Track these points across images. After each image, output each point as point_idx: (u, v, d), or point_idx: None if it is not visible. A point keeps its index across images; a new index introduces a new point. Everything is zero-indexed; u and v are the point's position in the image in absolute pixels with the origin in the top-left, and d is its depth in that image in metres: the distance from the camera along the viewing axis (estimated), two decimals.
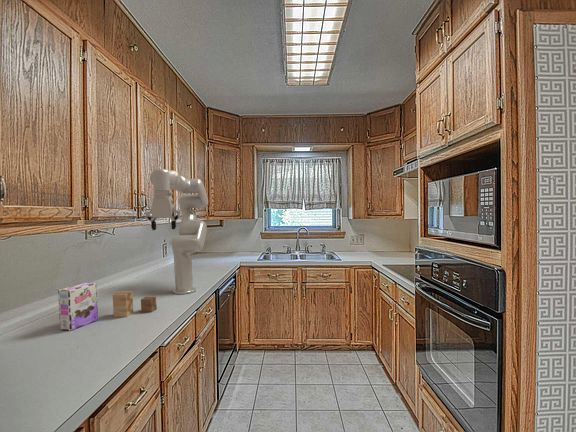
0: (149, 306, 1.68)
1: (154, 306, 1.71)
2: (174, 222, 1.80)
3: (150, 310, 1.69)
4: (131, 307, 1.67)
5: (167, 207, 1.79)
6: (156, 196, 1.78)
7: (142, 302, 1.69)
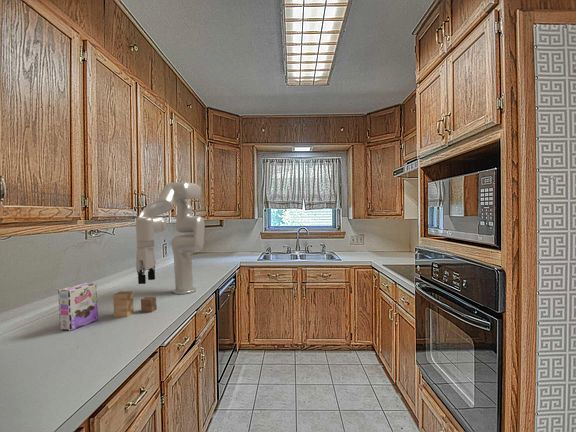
0: (149, 306, 1.68)
1: (154, 306, 1.71)
2: None
3: (150, 310, 1.69)
4: (131, 307, 1.67)
5: (153, 257, 1.73)
6: (151, 246, 1.68)
7: (142, 302, 1.69)
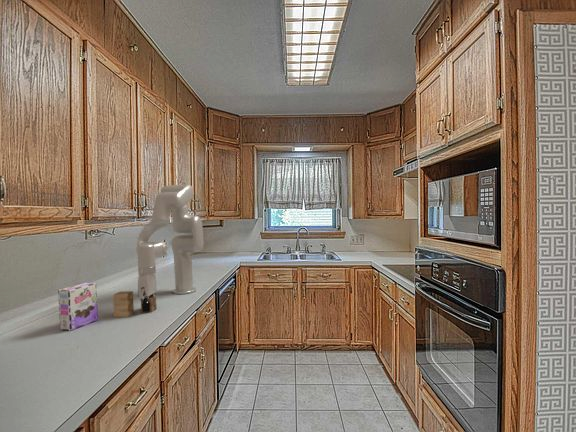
0: None
1: (154, 306, 1.71)
2: None
3: (150, 310, 1.69)
4: (131, 307, 1.67)
5: (155, 282, 1.74)
6: (152, 272, 1.69)
7: None
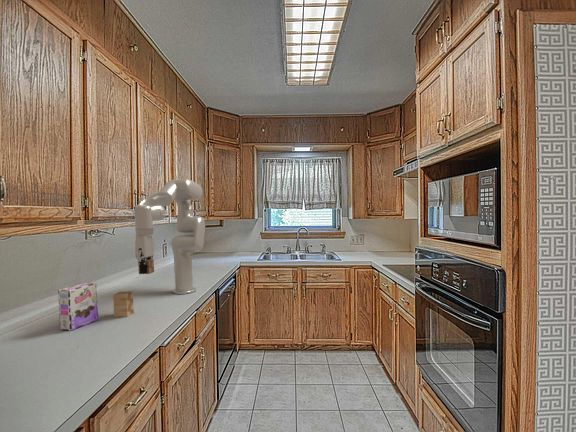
0: None
1: (151, 268, 1.70)
2: None
3: (147, 272, 1.68)
4: (131, 307, 1.67)
5: (152, 245, 1.73)
6: (150, 234, 1.68)
7: None
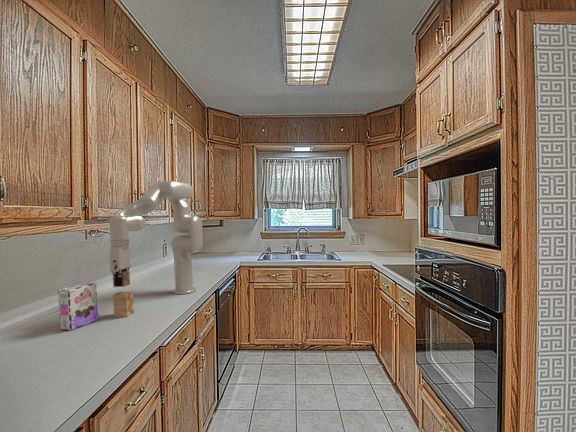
0: None
1: (127, 280, 1.65)
2: None
3: (122, 284, 1.62)
4: (131, 307, 1.67)
5: (129, 256, 1.68)
6: (125, 246, 1.63)
7: None
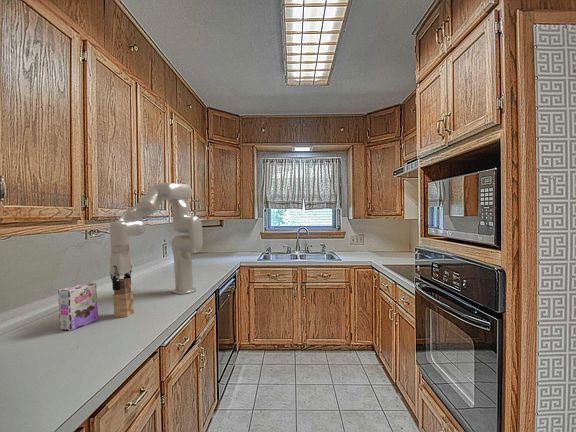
0: (122, 288, 1.63)
1: (127, 288, 1.65)
2: (129, 277, 1.71)
3: (123, 292, 1.63)
4: (131, 307, 1.67)
5: (129, 262, 1.68)
6: (125, 251, 1.63)
7: None
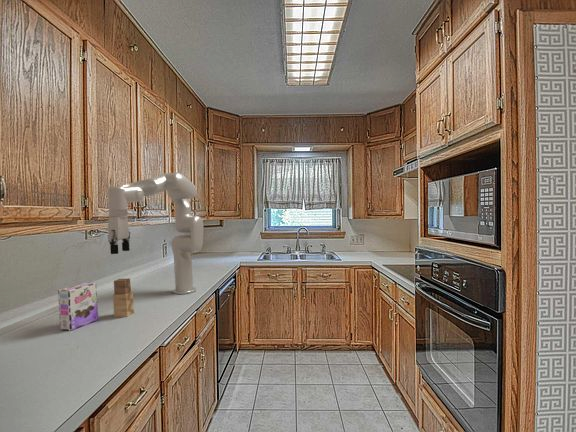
0: (122, 288, 1.63)
1: (127, 288, 1.65)
2: None
3: (123, 292, 1.63)
4: (131, 307, 1.67)
5: (127, 227, 1.67)
6: (124, 215, 1.62)
7: (115, 284, 1.63)
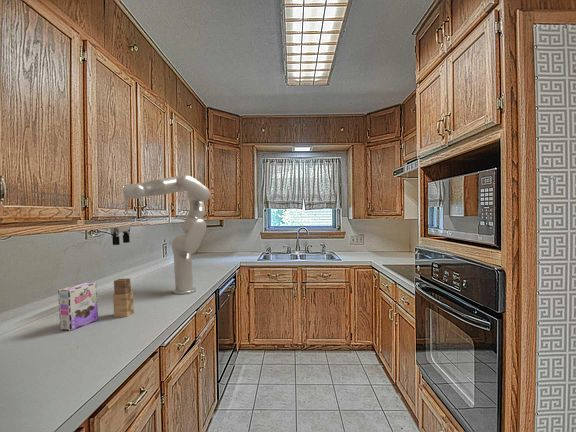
0: (122, 288, 1.63)
1: (128, 288, 1.65)
2: None
3: (123, 292, 1.63)
4: (131, 307, 1.67)
5: None
6: None
7: (115, 284, 1.63)
